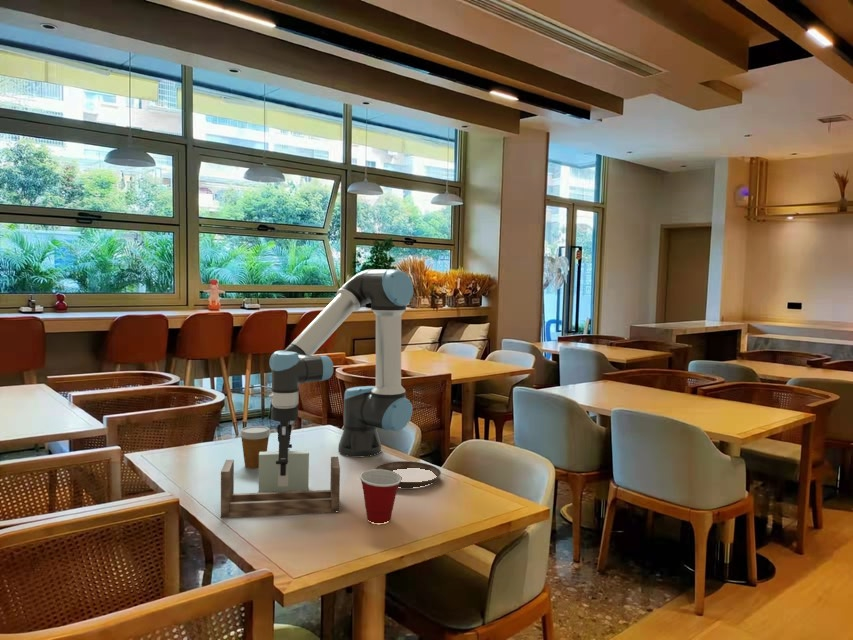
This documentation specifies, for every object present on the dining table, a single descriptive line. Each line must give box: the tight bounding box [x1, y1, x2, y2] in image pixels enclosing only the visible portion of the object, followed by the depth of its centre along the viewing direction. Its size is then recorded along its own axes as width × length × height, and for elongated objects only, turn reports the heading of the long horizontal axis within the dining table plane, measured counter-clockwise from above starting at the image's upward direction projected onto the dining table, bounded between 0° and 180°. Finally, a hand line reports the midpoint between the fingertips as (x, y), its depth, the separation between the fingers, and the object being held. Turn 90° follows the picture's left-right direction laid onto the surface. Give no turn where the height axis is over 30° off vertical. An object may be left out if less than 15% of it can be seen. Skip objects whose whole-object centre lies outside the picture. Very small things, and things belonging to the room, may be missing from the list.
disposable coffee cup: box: [239, 425, 271, 470], centre depth 197 cm, size 10×10×12 cm
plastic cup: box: [359, 468, 402, 523], centre depth 156 cm, size 11×11×12 cm
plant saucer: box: [374, 460, 442, 488], centre depth 188 cm, size 21×21×3 cm
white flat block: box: [258, 449, 310, 493], centre depth 177 cm, size 14×3×11 cm, turn 101°
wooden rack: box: [220, 456, 341, 518], centre depth 163 cm, size 30×10×12 cm, turn 101°
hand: (283, 477), depth 177 cm, fingers open, 13 cm apart
